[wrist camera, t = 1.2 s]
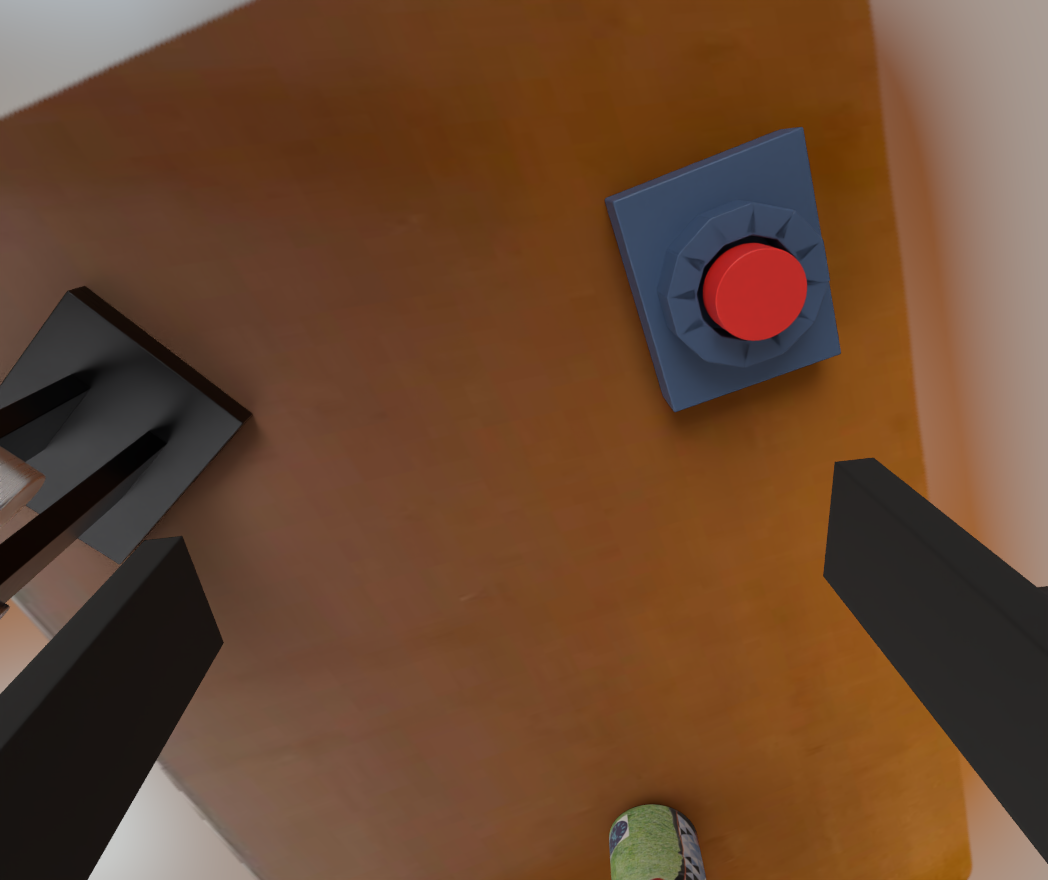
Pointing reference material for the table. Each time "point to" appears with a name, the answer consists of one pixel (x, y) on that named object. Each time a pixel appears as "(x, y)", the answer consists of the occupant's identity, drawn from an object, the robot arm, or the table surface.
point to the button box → (694, 245)
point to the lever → (16, 485)
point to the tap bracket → (103, 434)
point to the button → (755, 291)
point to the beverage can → (654, 845)
